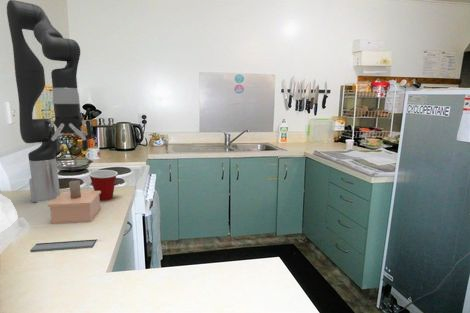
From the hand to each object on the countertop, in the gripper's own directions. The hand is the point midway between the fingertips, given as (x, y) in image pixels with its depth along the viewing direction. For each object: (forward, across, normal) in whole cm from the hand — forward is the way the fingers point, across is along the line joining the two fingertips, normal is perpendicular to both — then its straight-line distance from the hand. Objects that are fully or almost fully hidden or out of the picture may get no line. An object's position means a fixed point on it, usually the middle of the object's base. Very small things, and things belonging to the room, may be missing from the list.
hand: (71, 151), depth 101 cm
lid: (+17, 0, 0) cm, 17 cm away
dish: (+24, 0, 0) cm, 24 cm away
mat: (+24, -3, +16) cm, 29 cm away
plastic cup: (+24, -5, -18) cm, 31 cm away
